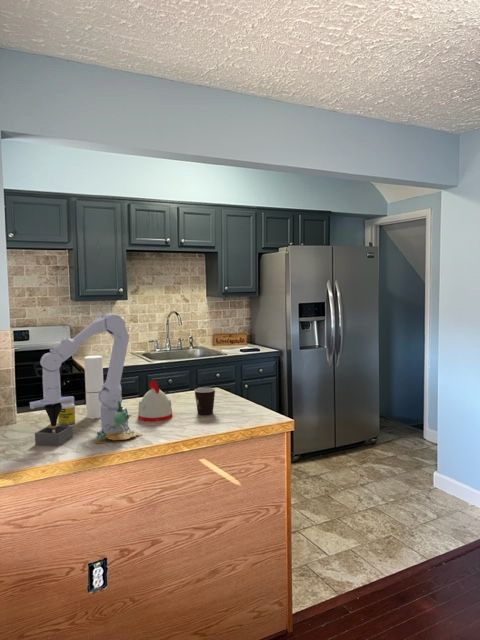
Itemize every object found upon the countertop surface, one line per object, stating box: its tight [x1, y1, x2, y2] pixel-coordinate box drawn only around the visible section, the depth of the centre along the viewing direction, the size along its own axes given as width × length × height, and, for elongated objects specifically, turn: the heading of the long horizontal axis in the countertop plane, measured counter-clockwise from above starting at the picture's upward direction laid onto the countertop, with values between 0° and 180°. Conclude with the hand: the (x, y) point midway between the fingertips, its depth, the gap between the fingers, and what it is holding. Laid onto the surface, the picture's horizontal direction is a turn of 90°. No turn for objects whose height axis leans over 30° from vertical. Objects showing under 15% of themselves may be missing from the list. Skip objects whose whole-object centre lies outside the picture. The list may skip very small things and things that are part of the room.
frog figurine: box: [94, 401, 144, 445], centre depth 175 cm, size 10×18×15 cm, turn 115°
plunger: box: [47, 423, 59, 433], centre depth 172 cm, size 7×7×5 cm
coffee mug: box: [194, 387, 216, 417], centre depth 206 cm, size 12×9×10 cm
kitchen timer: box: [137, 380, 173, 423], centre depth 201 cm, size 14×14×15 cm
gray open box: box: [34, 425, 74, 447], centre depth 173 cm, size 9×10×4 cm
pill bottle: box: [57, 402, 76, 428], centre depth 190 cm, size 6×6×11 cm
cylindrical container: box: [83, 355, 104, 420], centre depth 202 cm, size 7×7×25 cm
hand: (53, 425), depth 172 cm, fingers closed, pressing on plunger
